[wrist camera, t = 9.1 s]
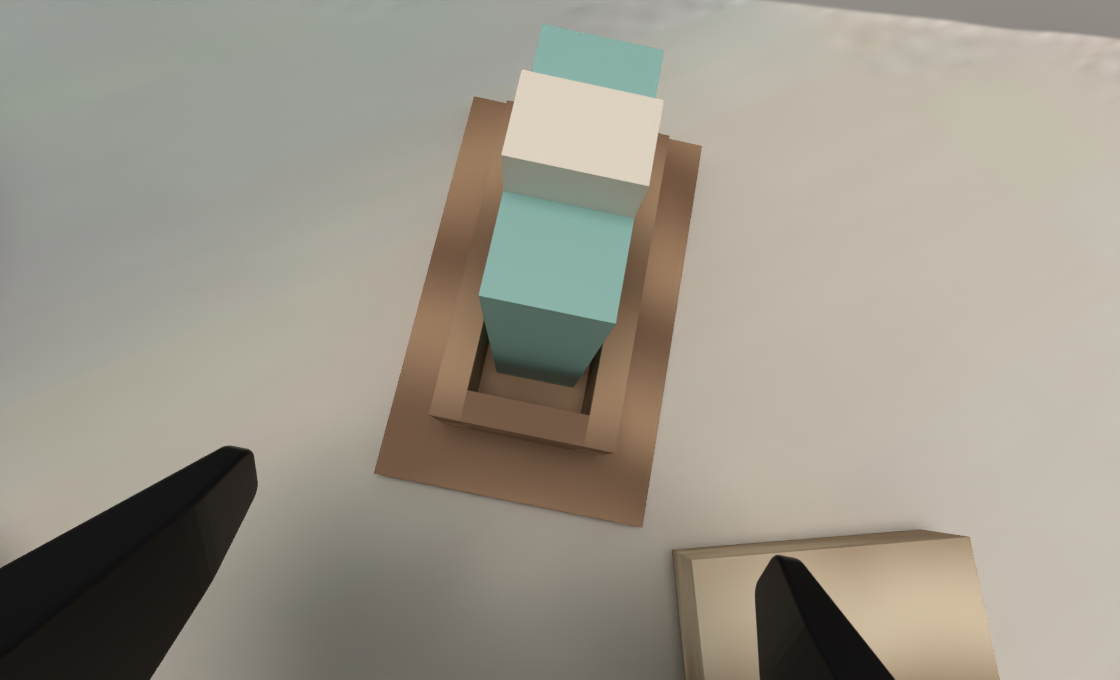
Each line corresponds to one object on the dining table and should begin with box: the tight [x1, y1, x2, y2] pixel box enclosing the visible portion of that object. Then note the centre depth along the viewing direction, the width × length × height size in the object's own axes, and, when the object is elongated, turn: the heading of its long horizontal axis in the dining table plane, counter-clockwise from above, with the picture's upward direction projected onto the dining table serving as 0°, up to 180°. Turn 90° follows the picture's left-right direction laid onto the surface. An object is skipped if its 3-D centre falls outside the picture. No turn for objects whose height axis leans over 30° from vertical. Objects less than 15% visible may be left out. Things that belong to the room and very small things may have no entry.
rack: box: [374, 97, 702, 527], centre depth 22 cm, size 16×10×4 cm, turn 169°
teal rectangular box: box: [479, 24, 664, 388], centre depth 17 cm, size 7×3×12 cm, turn 169°
